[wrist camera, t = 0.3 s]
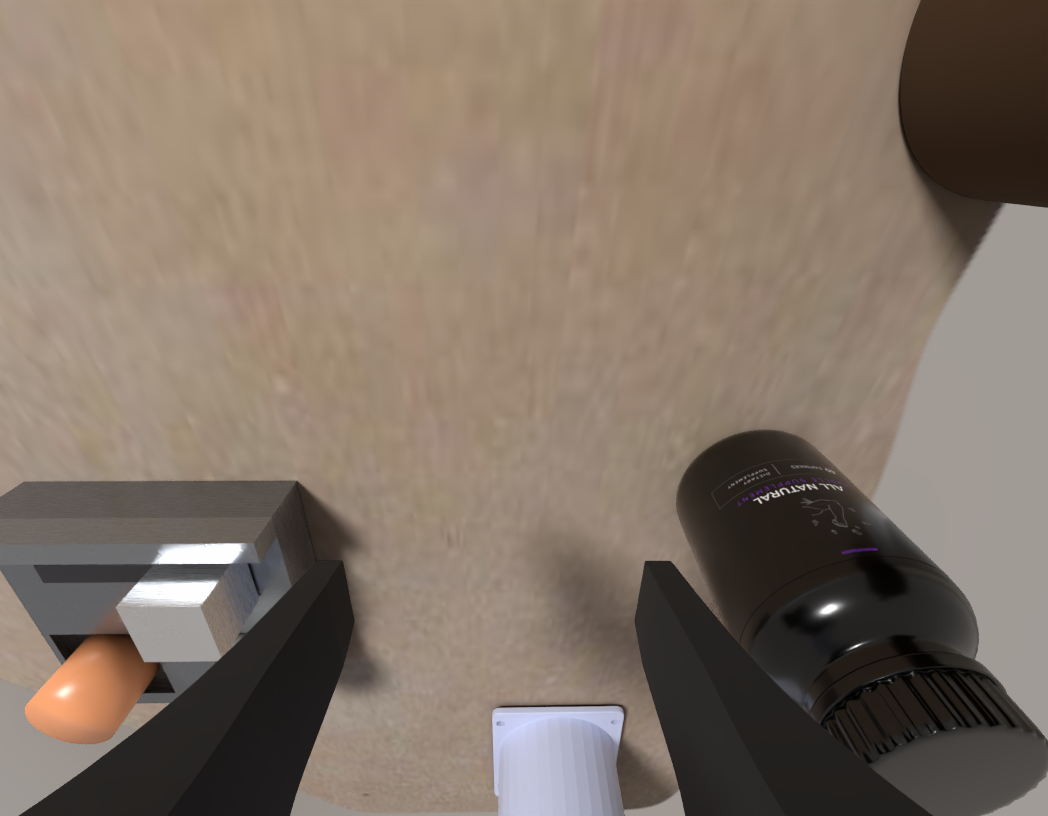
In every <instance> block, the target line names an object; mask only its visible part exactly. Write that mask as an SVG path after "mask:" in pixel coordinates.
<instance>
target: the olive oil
mask: <svg viewBox="0 0 1048 816" xmlns="http://www.w3.org/2000/svg"><path fill="white" fill-rule="evenodd" d="M900 104H901V114H902V121H903V126H904V130H905V134H906V137H907V140H908V143H909V145H910V148H911V150H912V152H913V154H914V156H915V157H916V159H917V161H918V162H919V164H920V165H921V166H922V168H923V169H924V170H925V171H926V172H927V173H928V174H929V175H930V176H931V177H932V178H933V179H934V180H935V181H936V182H938V183H939V184H941V185H942V186H944V187H945V188H947V189H949V190H951V191H953V192H956V193H958V194H961V195H964V196H967V197H971V198H975V199H981V200H987V201H994V202H1002V203H1011V204H1021V205H1029V206H1038V207H1048V0H921V2H920V4H919V7H918V9H917V12H916V15H915V17H914V20H913V23H912V26H911V30H910V33H909V37H908V40H907V44H906V49H905V53H904V59H903V65H902V72H901V84H900Z"/></svg>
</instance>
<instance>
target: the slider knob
mask: <svg viewBox="0 0 1048 816" xmlns="http://www.w3.org/2000/svg"><path fill="white" fill-rule="evenodd" d="M258 600H259V597H258V594H257V591H256V588H255V585H254V582H253V579H252V576H251V573H250V570H249V567H248V564H247V563H214V564H154V565H153V566H152V567H151V568H150V570H149V571H148V572H147V573H146V574H145V575H144V576H143V577H142V578H141V580H140V581H139V582H138V583H137V584H136V585H135V586H134V587H133V588H132V590H131V591H130V592H129V593H128V594H127V595H126V596H125V597H124V598H123V600H122V601H121V602H120V603H119V604H118V605H117V606H116V609H117V611H118V613H119V615H120V617H121V619H122V621H123V623H124V624H125V626H126V628H127V630H128V632H129V634H130V636H131V638H132V640H133V642H134V643H135V645H136V647H137V649H138V651H139V653H140V655H141V657H142V659H143V660H144V662H200V661H218V660H219V659H220V658H221V657H222V656H223V655H224V654H225V653H227V652H228V651H229V650H230V648H231V647H232V645H233V643H234V641H235V640H236V638H237V636H238V635H239V633H240V631H241V630H242V628H243V626H244V624H245V623H246V621H247V619H248V618H249V616H250V614H251V612H252V611H253V609H254V607H255V606H256V604H257V602H258Z"/></svg>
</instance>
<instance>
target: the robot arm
mask: <svg viewBox="0 0 1048 816" xmlns="http://www.w3.org/2000/svg"><path fill="white" fill-rule="evenodd" d="M353 625H354V616H353V611H352V606H351V601H350V595H349V590H348V585H347V580H346V575H345V570H344V565H343V560H317V561H316V562H315V563H313V564H312V565H311V566H310V568H309V569H308V570H307V571H306V572H305V573H304V574H303V575H302V576H301V577H300V578H299V579H298V580H297V581H296V582H295V583H294V585H293V586H292V587H291V588H290V589H289V590H288V591H287V592H286V593H285V594H284V595H283V596H282V597H281V598H280V599H279V600H278V601H277V603H276V604H275V605H274V606H273V607H272V608H271V609H270V610H269V611H268V612H267V613H266V614H265V615H264V616H263V617H262V618H261V619H260V620H259V621H258V622H257V623H256V624H255V625H254V626H253V627H252V628H251V629H250V630H249V631H248V632H247V633H246V634H245V635H244V636H243V637H242V638H241V639H240V640H239V641H238V642H237V643H236V644H235V645H234V646H233V647H232V648H231V649H230V650H229V651H228V652H227V653H225V654H224V655H223V656H222V657H221V658H220V659H219V660H218V661H217V662H216V663H215V664H214V665H213V666H212V667H211V668H210V669H208V670H207V671H206V672H205V673H204V674H203V675H202V676H201V677H200V678H199V679H198V680H196V681H195V682H194V683H193V684H192V685H191V686H190V687H189V688H187V689H186V690H185V691H184V692H183V693H182V694H181V695H179V696H178V697H177V698H176V699H175V700H174V701H172V702H171V703H170V704H169V705H168V706H166V707H165V708H164V709H163V710H162V711H160V712H159V713H158V714H157V715H156V716H154V717H153V718H152V719H151V720H149V721H148V722H147V723H146V724H144V725H143V726H142V727H141V728H139V729H138V730H137V731H135V732H134V733H133V734H132V735H130V736H129V737H128V738H126V739H125V740H124V741H122V742H121V743H120V744H118V745H117V746H116V747H115V748H113V749H112V750H111V751H109V752H108V753H107V754H105V755H104V756H103V757H101V758H100V759H99V760H97V761H96V762H95V763H93V764H92V765H91V766H89V767H88V768H87V769H85V770H84V771H83V772H81V773H80V774H78V775H77V776H76V777H74V778H73V779H72V780H70V781H69V782H67V783H66V784H64V785H63V786H61V787H60V788H59V789H57V790H56V791H54V792H53V793H52V794H50V795H49V796H47V797H46V798H44V799H43V800H41V801H40V802H38V803H37V804H36V805H34V806H32V807H31V808H30V809H28V810H27V811H25V812H24V813H22V814H21V815H19V816H290V813H291V810H292V807H293V803H294V800H295V796H296V793H297V790H298V787H299V784H300V781H301V778H302V775H303V772H304V770H305V767H306V764H307V762H308V759H309V756H310V754H311V751H312V748H313V746H314V743H315V740H316V738H317V735H318V733H319V730H320V727H321V725H322V722H323V719H324V717H325V714H326V711H327V709H328V706H329V703H330V701H331V698H332V695H333V693H334V690H335V687H336V685H337V682H338V679H339V676H340V674H341V671H342V668H343V665H344V661H345V658H346V654H347V650H348V646H349V642H350V638H351V634H352V630H353ZM635 626H636V631H637V637H638V643H639V648H640V653H641V658H642V663H643V667H644V671H645V674H646V677H647V681H648V684H649V687H650V691H651V694H652V698H653V701H654V704H655V707H656V711H657V714H658V717H659V721H660V724H661V727H662V730H663V734H664V737H665V740H666V744H667V747H668V750H669V753H670V757H671V760H672V763H673V767H674V770H675V774H676V778H677V782H678V785H679V789H680V793H681V797H682V802H683V807H684V812H685V816H933V815H932V814H930V813H929V812H928V811H926V810H925V809H924V808H922V807H921V806H920V805H918V804H917V803H916V802H914V801H913V800H912V799H910V798H909V797H908V796H906V795H905V794H904V793H902V792H901V791H900V790H898V789H897V788H896V787H894V786H893V785H892V784H891V783H889V782H888V781H887V780H886V779H884V778H883V777H882V776H880V775H879V774H878V773H877V772H876V771H874V770H873V769H872V768H871V767H870V766H868V765H867V764H866V763H865V762H864V761H862V760H861V759H860V758H859V757H857V756H856V755H855V754H854V753H853V752H851V751H850V750H849V749H848V748H847V747H845V746H844V745H843V744H842V743H841V742H839V741H838V740H837V739H836V738H834V737H833V736H832V735H831V734H830V733H829V732H828V731H827V730H825V729H824V728H823V727H822V726H821V725H820V724H819V723H818V722H816V721H815V720H814V719H813V718H812V717H811V716H810V715H809V714H808V713H807V712H806V711H805V710H803V709H802V708H801V707H800V706H799V705H798V704H797V703H796V702H795V701H794V700H793V699H792V698H791V697H790V696H789V695H788V694H787V693H786V692H785V691H784V690H783V689H782V688H781V687H780V686H779V685H778V684H777V683H776V682H775V681H774V680H773V679H772V678H771V677H770V676H769V675H768V674H767V673H766V672H765V671H764V670H763V669H762V668H761V667H760V666H759V665H758V664H757V663H756V662H755V661H754V659H753V658H752V657H751V656H750V655H749V654H748V653H747V652H746V651H745V650H744V649H743V648H742V646H741V645H740V644H739V643H738V642H737V641H736V640H735V638H734V637H733V636H732V635H731V634H730V633H729V632H728V630H727V629H726V628H725V627H724V626H723V625H722V624H721V622H720V621H719V620H718V619H717V618H716V617H715V615H714V614H713V613H712V612H711V611H710V609H709V608H708V607H707V606H706V604H705V603H704V602H703V601H702V600H701V598H700V597H699V596H698V595H697V593H696V592H695V591H694V590H693V588H692V587H691V586H690V585H689V583H688V582H687V581H686V579H685V578H684V577H683V576H682V574H681V573H680V572H679V571H678V569H677V568H676V567H675V565H674V564H673V563H672V562H671V561H645V564H644V570H643V576H642V581H641V587H640V593H639V599H638V604H637V610H636V616H635ZM623 720H624V712H623V709H622V708H621V707H619V706H579V707H506V708H496V709H495V710H494V711H493V713H492V726H493V756H494V787H495V795H496V796H498V797H499V798H498V816H625V815H624V809H623V803H622V797H621V792H620V786H619V780H618V774H617V768H616V761H617V755H618V749H619V744H620V738H621V732H622V726H623Z"/></svg>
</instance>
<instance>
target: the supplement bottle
mask: <svg viewBox="0 0 1048 816" xmlns="http://www.w3.org/2000/svg"><path fill="white" fill-rule="evenodd" d="M676 507H677V513H678V517H679V520H680V523H681V525H682V528H683V530H684V533H685V535H686V538H687V540H688V542H689V545H690V547H691V549H692V551H693V554H694V556H695V558H696V561H697V563H698V565H699V568H700V570H701V572H702V574H703V577H704V579H705V581H706V584H707V586H708V588H709V590H710V593H711V595H712V597H713V600H714V602H715V604H716V606H717V609H718V611H719V613H720V616H721V618H722V620H723V622H724V625H725V627H726V629H727V630H728V632H729V633H730V634H731V635H732V636H733V637H734V638H735V640H736V641H737V642H738V643H739V644H740V645H741V646H742V648H743V649H744V650H745V651H746V652H747V653H748V654H749V655H750V656H751V657H752V658H753V659H754V661H755V662H756V663H757V664H758V665H759V666H760V667H761V668H762V669H763V670H764V671H765V672H766V673H767V674H768V675H769V676H770V677H771V678H772V679H773V680H774V681H775V682H776V683H777V684H778V685H779V686H780V687H781V688H782V689H783V690H784V691H785V692H786V693H787V694H788V695H789V696H790V697H791V698H792V699H793V700H794V701H795V702H796V703H797V704H798V705H799V706H800V707H801V708H802V709H803V710H805V711H806V712H807V713H808V714H809V715H810V716H811V717H812V718H813V719H814V720H815V721H816V722H818V723H819V724H820V725H821V726H822V727H823V728H824V729H825V730H827V731H828V732H829V733H830V734H831V735H832V736H833V737H834V738H836V739H837V740H838V741H839V742H841V743H842V744H843V745H844V746H845V747H847V748H848V749H849V750H850V751H851V752H853V753H854V754H855V755H856V756H857V757H859V758H860V759H861V760H862V761H864V762H865V763H866V764H867V765H868V766H870V767H871V768H872V769H873V770H874V771H876V772H877V773H878V774H879V775H880V776H882V777H883V778H884V779H886V780H887V781H888V782H889V783H891V784H892V785H893V786H894V787H896V788H897V789H898V790H900V791H901V792H902V793H904V794H905V795H906V796H908V797H909V798H910V799H912V800H913V801H914V802H916V803H917V804H918V805H920V806H921V807H922V808H924V809H925V810H926V811H928V812H929V813H930V814H932V815H933V816H982V815H985V814H989V813H992V812H994V811H996V810H998V809H999V808H1002V807H1005V806H1007V805H1010V804H1011V803H1012V802H1014V801H1015V800H1017V799H1020V798H1022V797H1023V796H1025V795H1026V793H1028V792H1029V791H1030V790H1032V789H1034V788H1036V787H1037V785H1038V783H1039V782H1040V781H1041V780H1043V779H1044V778H1045V777H1046V774H1047V772H1048V740H1047V739H1046V738H1045V736H1044V735H1043V734H1042V733H1041V731H1040V730H1039V729H1038V728H1037V727H1036V725H1035V724H1034V723H1033V722H1032V721H1031V720H1030V719H1029V718H1028V717H1027V716H1026V714H1025V713H1024V712H1023V711H1022V710H1021V709H1020V708H1019V707H1018V706H1017V705H1016V703H1015V702H1014V701H1013V700H1012V699H1011V698H1010V697H1009V696H1008V695H1007V692H1006V690H1005V689H1004V687H1003V685H1002V684H1001V683H1000V682H999V681H998V680H997V679H996V678H995V677H994V675H993V674H992V673H991V672H990V671H989V670H988V669H987V668H986V667H985V666H983V665H982V664H981V663H980V662H978V661H976V660H975V658H976V654H977V651H978V644H979V632H978V626H977V621H976V617H975V614H974V612H973V609H972V607H971V604H970V603H969V601H968V599H967V598H966V596H965V595H964V593H963V592H962V591H961V590H960V589H959V588H958V587H957V586H956V584H955V583H954V582H953V581H952V580H951V579H950V578H949V577H948V576H947V575H946V574H945V573H944V572H943V571H942V570H941V569H940V568H939V567H938V566H937V565H936V564H935V563H934V562H933V561H932V560H931V559H930V558H929V557H928V556H927V555H926V554H925V553H924V552H923V551H922V550H921V549H920V548H919V547H918V546H917V545H916V544H914V543H913V542H912V541H911V540H910V539H909V538H908V537H907V536H906V535H905V534H904V533H903V532H902V531H901V530H900V529H899V528H898V527H897V526H896V525H895V524H894V523H893V522H892V521H891V520H890V519H889V518H888V517H887V516H886V515H885V514H884V513H883V512H882V511H881V510H880V509H879V508H878V507H876V505H875V504H873V503H872V502H871V501H870V500H869V499H868V498H867V497H866V496H865V495H864V494H863V493H862V492H861V491H860V490H859V489H858V488H857V487H856V486H855V485H854V484H853V483H852V482H851V481H850V480H849V479H848V478H847V477H846V476H845V475H844V474H843V473H842V472H841V471H840V470H839V469H838V468H837V467H835V466H834V465H833V464H832V463H831V462H830V461H829V460H828V459H827V458H826V457H825V456H824V455H823V454H822V453H821V452H820V451H818V450H817V449H816V448H815V447H814V446H813V445H811V444H810V443H809V442H807V441H806V440H804V439H802V438H800V437H798V436H796V435H793V434H790V433H787V432H783V431H776V430H753V431H747V432H742V433H739V434H735V435H732V436H729V437H727V438H725V439H722V440H720V441H719V442H717V443H715V444H713V445H712V446H710V447H709V448H707V449H706V450H705V451H703V452H702V453H701V454H700V455H699V456H698V457H697V458H696V459H695V460H694V461H693V462H692V463H691V465H690V466H689V467H688V469H687V470H686V472H685V473H684V475H683V477H682V479H681V482H680V484H679V487H678V491H677V497H676Z"/></svg>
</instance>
